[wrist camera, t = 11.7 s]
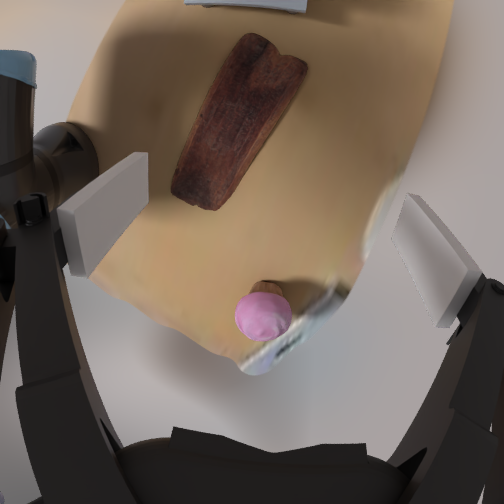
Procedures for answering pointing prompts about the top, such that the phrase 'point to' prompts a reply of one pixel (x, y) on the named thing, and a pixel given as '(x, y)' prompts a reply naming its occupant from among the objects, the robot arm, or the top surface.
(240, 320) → the cupcake
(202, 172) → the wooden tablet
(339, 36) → the top surface
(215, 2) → the small grey table
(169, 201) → the top surface
